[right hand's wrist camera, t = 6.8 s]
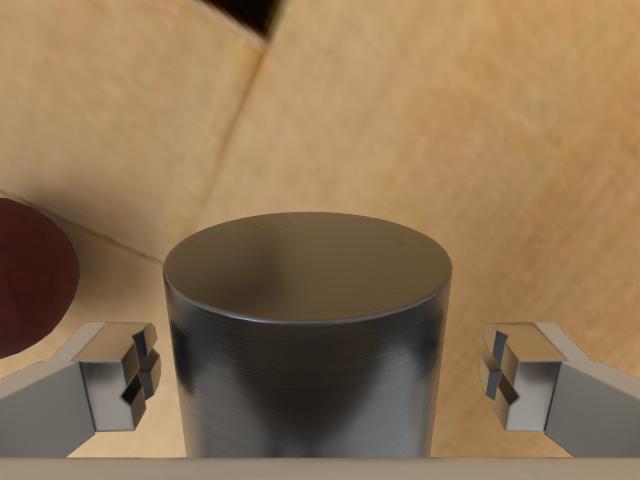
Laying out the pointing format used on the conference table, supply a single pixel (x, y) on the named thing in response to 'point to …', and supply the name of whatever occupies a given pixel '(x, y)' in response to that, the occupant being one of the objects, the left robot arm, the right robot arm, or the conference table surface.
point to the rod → (307, 336)
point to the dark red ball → (32, 276)
